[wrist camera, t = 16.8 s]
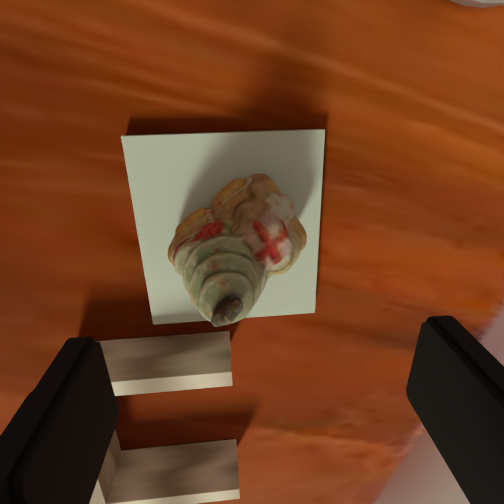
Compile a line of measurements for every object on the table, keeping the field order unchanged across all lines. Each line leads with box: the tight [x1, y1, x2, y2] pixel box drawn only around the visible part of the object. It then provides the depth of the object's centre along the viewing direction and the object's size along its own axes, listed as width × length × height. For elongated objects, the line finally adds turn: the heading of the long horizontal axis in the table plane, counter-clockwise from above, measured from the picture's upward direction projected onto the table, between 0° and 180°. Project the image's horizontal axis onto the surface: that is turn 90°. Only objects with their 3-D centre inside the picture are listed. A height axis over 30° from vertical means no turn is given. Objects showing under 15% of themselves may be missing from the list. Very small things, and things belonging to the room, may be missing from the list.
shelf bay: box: [89, 331, 240, 504], centre depth 26 cm, size 12×13×4 cm
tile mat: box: [121, 129, 325, 325], centre depth 23 cm, size 12×13×1 cm
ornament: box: [168, 174, 307, 327], centre depth 17 cm, size 8×6×10 cm
